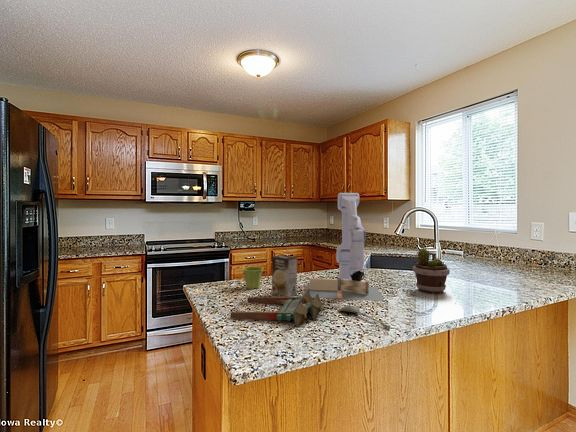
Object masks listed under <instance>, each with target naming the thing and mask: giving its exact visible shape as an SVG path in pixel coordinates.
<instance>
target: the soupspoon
mask: <svg viewBox="0 0 576 432" xmlns="http://www.w3.org/2000/svg"><path fill="white" fill-rule="evenodd" d="M360 311H361V310H360V308H359V307H357V306H354V305H345V306H343V307H341V308H340V309H339V310H338V312H352V313H354V314H358V315H361V316H364V317H366V318H369V319H371V320H373V321H375V322H377V323H378V324H380V325H381V326H382V327H384V329H385V330H390V329H391V325H389V324H386V323H384V322H382V321H380V320H378V319H376V318H375V317H372V316H370V315H368V314H366V313H363V312H362V311H361V312H360Z"/></svg>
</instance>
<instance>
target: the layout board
mask: <svg viewBox="0 0 576 432" xmlns="http://www.w3.org/2000/svg"><path fill="white" fill-rule="evenodd" d="M307 290H309V293H310V296H311V297H312V298H315V297H316V295H317V294H318V296H319V299H329V300H349V301H374V302H375V301H376V302H386V301H385V299H384V297H383V295H382V294H381V292H380V290H379V288H378V287H377V286H369V294H364V293H358V292H352V291H346V290H341V278H340V277H339V276H338V277H337V278H336V279H335V278H314V277H313V278H309V284H306V285H305V288H304V291H303V294H302V296H301V298H302V297H303V296H304V294H305V293H306V292H307Z"/></svg>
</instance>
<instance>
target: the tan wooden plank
mask: <svg viewBox="0 0 576 432" xmlns="http://www.w3.org/2000/svg"><path fill="white" fill-rule="evenodd" d="M369 287H370V285H369V281H368V280H367V281H362V280H361V281H354V280H347V279H341V290H346V291H352V292H358V293H364V294H369Z"/></svg>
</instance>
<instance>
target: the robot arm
mask: <svg viewBox="0 0 576 432" xmlns="http://www.w3.org/2000/svg"><path fill="white" fill-rule="evenodd" d="M360 199H361V198H360V194H359V192H338V194H337V209H338V210H339V211H341V233H342V234H341V244H339V245H338V246H337V248H336V253H335V258H336V263H338V266H339V269H338V271H339V272H338V277H340V278H341V279H347V280H354V281H361V282H362V279H363V277H364V275H365V272H364V271H367V267H366V266H367V265H365V264H364V261H365V260H364V259H365V257H364V256H365V255H364V254H365V252H364V251H365V242H366V240H367V236H366V235H367V233H366V230H365V228H364V227H363V226H362V220H361V217H360V216H358V209H357V208H358V206H359V204H360V201H361V200H360Z"/></svg>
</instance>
